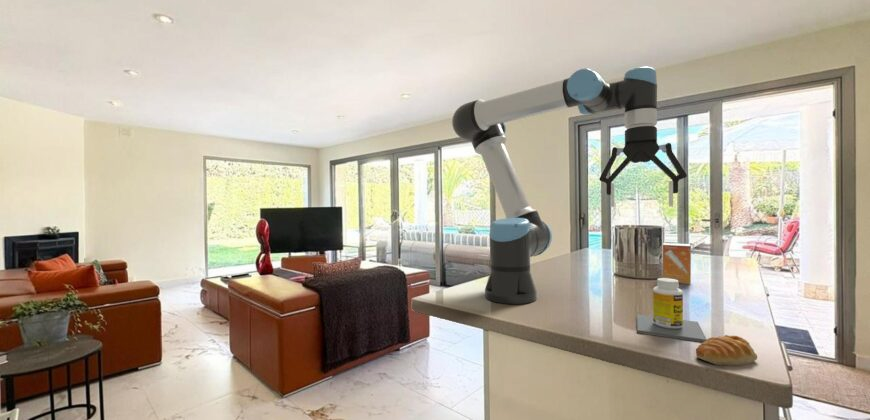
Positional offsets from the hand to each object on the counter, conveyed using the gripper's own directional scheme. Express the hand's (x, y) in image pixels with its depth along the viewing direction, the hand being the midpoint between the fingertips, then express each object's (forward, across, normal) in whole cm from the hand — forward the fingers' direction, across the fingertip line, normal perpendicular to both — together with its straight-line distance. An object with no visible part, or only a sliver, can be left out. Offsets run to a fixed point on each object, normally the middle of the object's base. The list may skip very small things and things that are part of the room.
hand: (640, 206), depth 97 cm
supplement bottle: (+26, -5, +18) cm, 32 cm away
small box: (+27, -11, -37) cm, 47 cm away
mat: (+27, -5, +18) cm, 33 cm away
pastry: (+27, -13, +31) cm, 43 cm away
